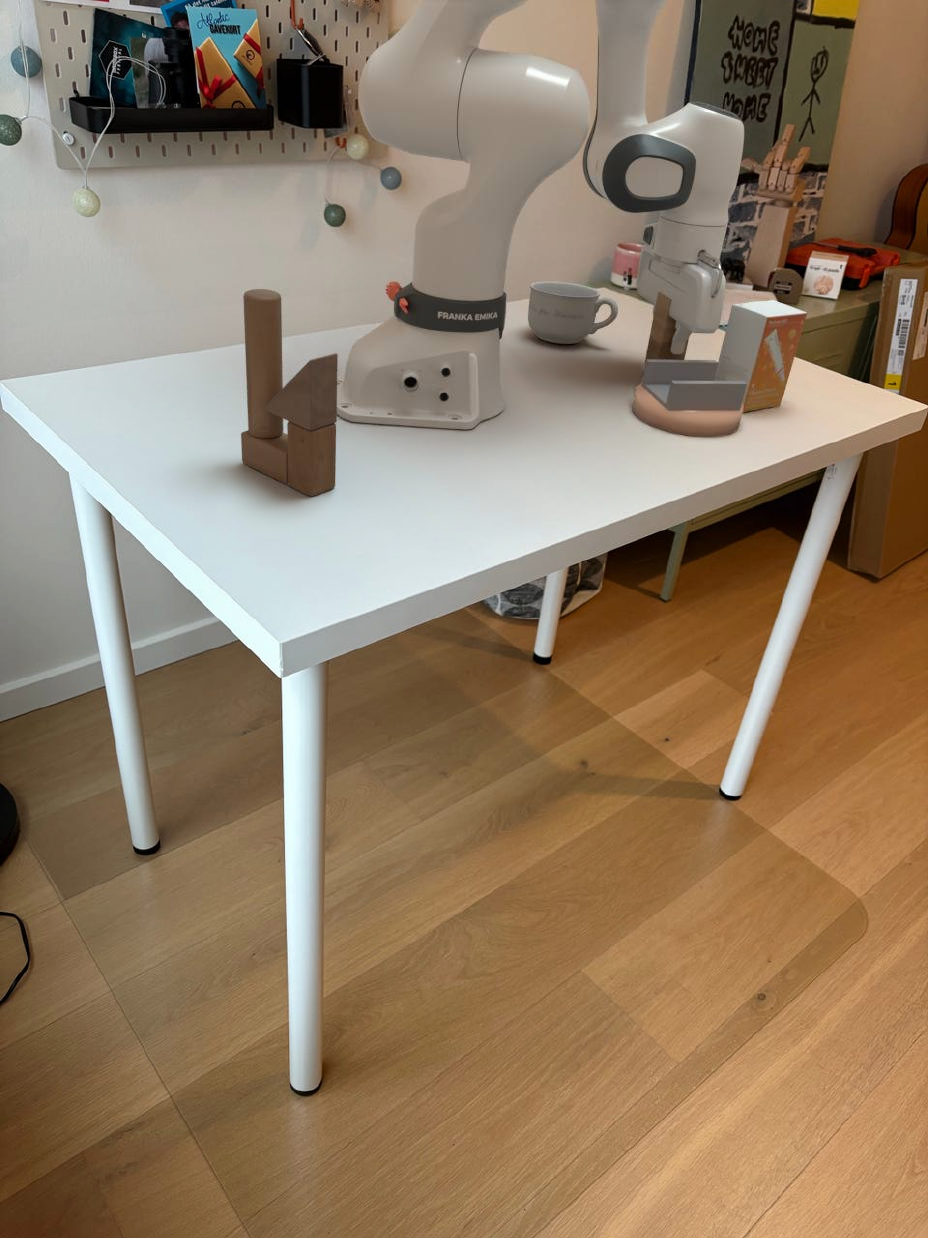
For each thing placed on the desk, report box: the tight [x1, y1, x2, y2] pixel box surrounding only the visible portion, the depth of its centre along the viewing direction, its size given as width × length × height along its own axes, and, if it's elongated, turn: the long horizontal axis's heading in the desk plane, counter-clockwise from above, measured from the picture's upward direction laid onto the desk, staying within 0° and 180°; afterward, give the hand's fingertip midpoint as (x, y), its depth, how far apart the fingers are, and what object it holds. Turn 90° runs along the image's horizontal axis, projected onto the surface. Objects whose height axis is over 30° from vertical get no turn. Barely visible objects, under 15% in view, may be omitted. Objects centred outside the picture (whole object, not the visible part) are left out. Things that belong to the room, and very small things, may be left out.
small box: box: [714, 299, 808, 413], centre depth 129 cm, size 8×6×13 cm
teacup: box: [527, 280, 619, 345], centre depth 147 cm, size 14×11×8 cm
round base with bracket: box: [632, 359, 747, 438], centre depth 124 cm, size 14×14×6 cm
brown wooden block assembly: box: [240, 288, 339, 497], centre depth 95 cm, size 4×11×18 cm, turn 51°
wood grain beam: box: [641, 292, 690, 377], centre depth 133 cm, size 4×4×12 cm
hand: (667, 346), depth 134 cm, fingers closed on wood grain beam, 4 cm apart
